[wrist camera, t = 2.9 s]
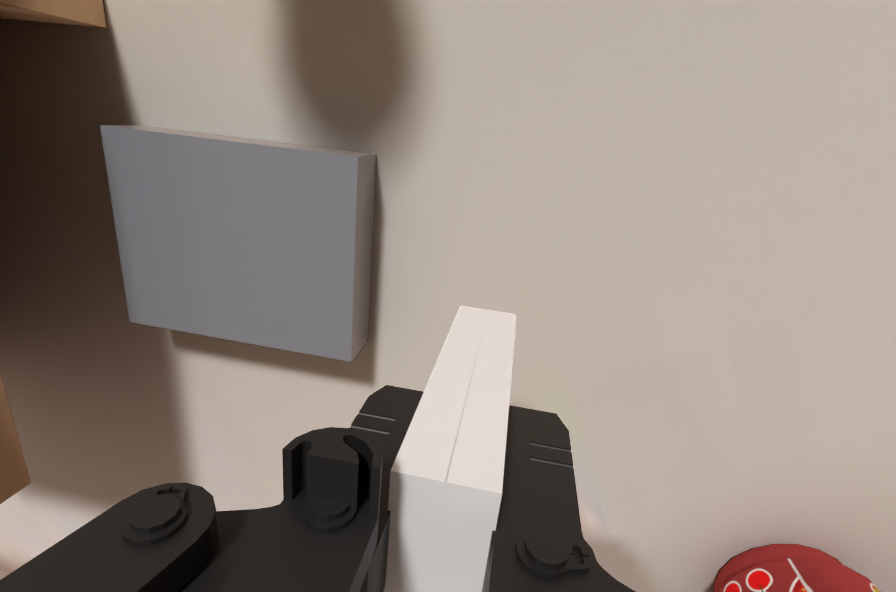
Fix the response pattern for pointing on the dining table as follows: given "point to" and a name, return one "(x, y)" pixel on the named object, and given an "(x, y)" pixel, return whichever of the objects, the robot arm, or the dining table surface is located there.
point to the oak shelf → (3, 458)
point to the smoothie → (789, 572)
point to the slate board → (244, 237)
